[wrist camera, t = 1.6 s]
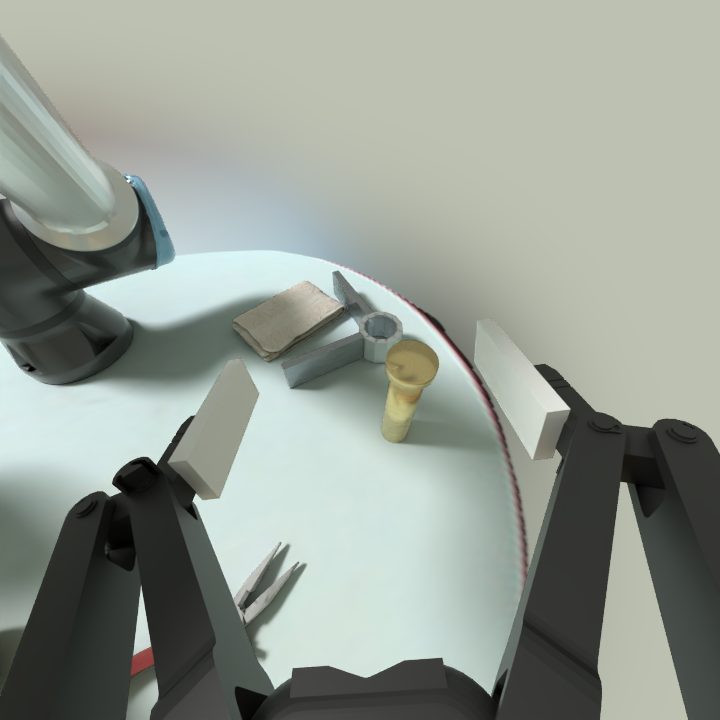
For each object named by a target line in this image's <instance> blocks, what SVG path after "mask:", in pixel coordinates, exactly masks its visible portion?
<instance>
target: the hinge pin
mask: <svg viewBox="0 0 720 720" xmlns="http://www.w3.org/2000/svg"><path fill="white" fill-rule="evenodd" d="M438 368H439V360H438V357H437V355H436V353H435V352H434V350H433V349H432V348H430V347H429V346H428V345H426V344H424V343H422V342H419V341H414V340H405V341H400V342H398V343H396V344H394V345H393V346H392V347H391V348H390V349H389V350H388V352H387V355H386V361H385V372H386V375H387V377H388V378H389V380H390V381H389V387H388V393H387V399H386V405H385V411H384V417H383V422H382V428H381V431H382V434H383V436H384V438H385V439H386V440H388V441H390V442H393V443H397V442H401V441H402V440H404V439H405V437H406V435H407V432H408V430H409V427H410V424H411V421H412V418H413V415H414V413H415V410H416V407H417V404H418V401H419V398H420V396H421V393H422V390H423V389H424V388H426V387H427V386H429V385H430V384H431V383H432V382H433V380H434V378H435V376H436V373H437V371H438Z"/></svg>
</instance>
